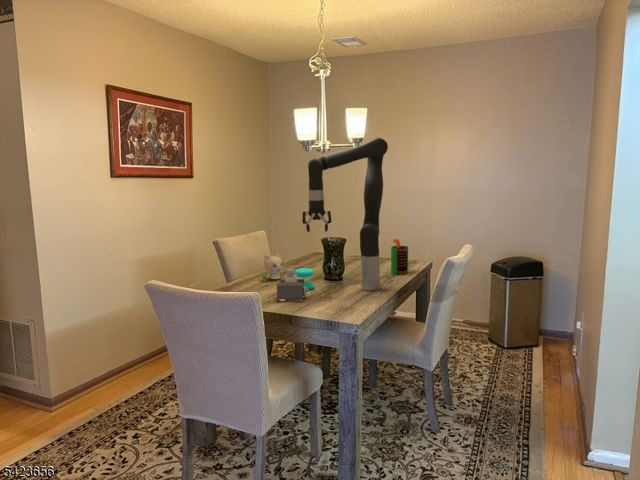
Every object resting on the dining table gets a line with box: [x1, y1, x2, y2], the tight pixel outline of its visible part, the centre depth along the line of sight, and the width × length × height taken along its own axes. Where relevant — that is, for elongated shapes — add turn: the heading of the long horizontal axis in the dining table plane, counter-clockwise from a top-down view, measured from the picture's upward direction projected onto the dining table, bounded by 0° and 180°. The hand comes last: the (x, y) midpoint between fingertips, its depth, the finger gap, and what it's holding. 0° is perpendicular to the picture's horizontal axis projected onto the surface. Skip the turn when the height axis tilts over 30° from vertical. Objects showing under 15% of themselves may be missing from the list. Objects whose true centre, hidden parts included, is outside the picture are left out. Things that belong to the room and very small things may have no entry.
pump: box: [284, 268, 298, 283], centre depth 220 cm, size 5×5×7 cm
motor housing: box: [276, 278, 308, 300], centre depth 221 cm, size 13×10×8 cm
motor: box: [390, 238, 409, 276], centre depth 267 cm, size 10×9×20 cm
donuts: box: [295, 267, 315, 290], centre depth 239 cm, size 10×10×10 cm
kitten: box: [261, 252, 285, 281], centre depth 261 cm, size 15×10×15 cm, turn 129°
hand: (317, 231), depth 230 cm, fingers open, 8 cm apart
